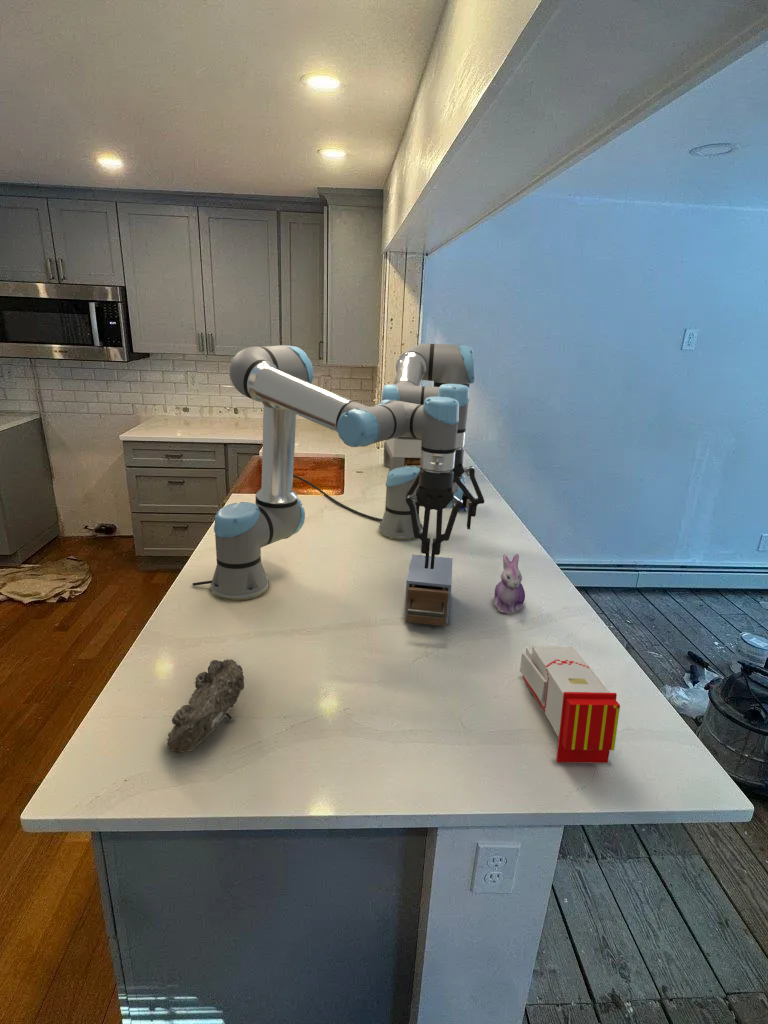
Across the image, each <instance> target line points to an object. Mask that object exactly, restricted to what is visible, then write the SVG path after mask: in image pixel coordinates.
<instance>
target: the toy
mask: <svg viewBox="0 0 768 1024" xmlns="http://www.w3.org/2000/svg"><path fill="white" fill-rule="evenodd" d="M525 649H526V650H525V652H522V653H521V660H520V666H519V672H520V673H521V675H522V679H523V680H524V682H525V684H526V686H527V687H528V689H529V690H530V692H531V693H532V695H533V697H534V698H535V700H536V701H537V703H538V705H540V707H541V709H542V710H543V712H544V713H545V716H546V718H547V720H548V721H549V723H550V725H551V727H552V729H553V730H554V732H555V734H556V736H557V737H558V742H557V751H556V759H555V760H556V762H557V763H575V764H576V763H577V764H578V763H579V764H581V763H583V764H585V763H586V764H592V763H593V764H608V763H609V756H610V751H615V747H616V739H617V731H618V726H619V725H618V723H619V718H620V717H619V716H620V711H621V710H620V709H621V705H620V703H619V702H618V701H617V696H618V694H617V693H616V692H610V691H609V690H608V688H607V687H606V686H605V685H604V683H603V682H602V681H601V679H600V678H599V677H598V676H597V675H596V674H595V672H594V671H593V670H592V669H591V668H590V665H588V664H587V662H586V661H585V660H584V659H583V657H582V656H581V654H579V652H578V651H577V650H576V649H575V647H574V646H545V645H544V646H543V645H542V646H540V645H535V646H534V645H532V646H531V647H530V646H526V648H525Z"/></svg>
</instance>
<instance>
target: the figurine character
mask: <svg viewBox="0 0 768 1024" xmlns="http://www.w3.org/2000/svg"><path fill="white" fill-rule="evenodd" d="M462 500H463V506H462V507H461V509H460V510H463V511H464V513H466V512H467V509H468V508H469V503H471V501H470V500H469V499H468V497H467V496H466V495H465V493H464V492H463V496H462ZM466 508H467V509H466Z"/></svg>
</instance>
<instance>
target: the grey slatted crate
mask: <svg viewBox="0 0 768 1024" xmlns="http://www.w3.org/2000/svg"><path fill="white" fill-rule="evenodd" d="M420 459H421V439H416V438H411V437H405V436H400V437H396V438H393V439H389V440H384V441H383V466H384V467H388V468H389V472H390V471H391V470H393V469H395V468H399V467H405V466H406V467H417V466H418V467H421V466H420Z"/></svg>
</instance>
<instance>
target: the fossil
mask: <svg viewBox="0 0 768 1024" xmlns="http://www.w3.org/2000/svg"><path fill="white" fill-rule="evenodd" d="M243 670H244V669H243V667H242V665H240V664H237V662H236V661H235V660H234V659H232V658H231V659H227V658H226V659H224V660H223V661H222V660H217V659H212V660H211V661H210V663H209V665H208V666H207V671H201V672H199V673H198V674H197V675H196V676H195V680H194V684H195V685H194V687H195V689H194V690H193V693H192V694H191V697H190V698H189V700H188V704H184V705H182V706H181V707H180V709H177V710H176V711H175V713H174V715H173V716H172V718H171V723H172V724H173V727H172V730H171V731H170V732H168V734H167V738H166V741H167V742H166V745H167V749H168V750H169V751H173V752H174V753H176V754H178V753H182V752H188V751H189V752H192V751H193V750H195V748H196V747H197V746H199V744H200V743H201V742H203V741H204V740H205V739H206V738H207V737H208V736H209V735H210V734H211V733H212V732H214V730H215V729H217V727H218V726H219V724H220V722H221V721H222V720H223V719H224V718H225V716H226V717H227V719H229V720H233V717H232V715H230V714H229V710H230V709H231V708H234V706H235V704H236V703H237V702H238V699H239V697H240V695H241V693H242V691H243V690H245V689H244V688H245V675H244V671H243Z"/></svg>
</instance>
